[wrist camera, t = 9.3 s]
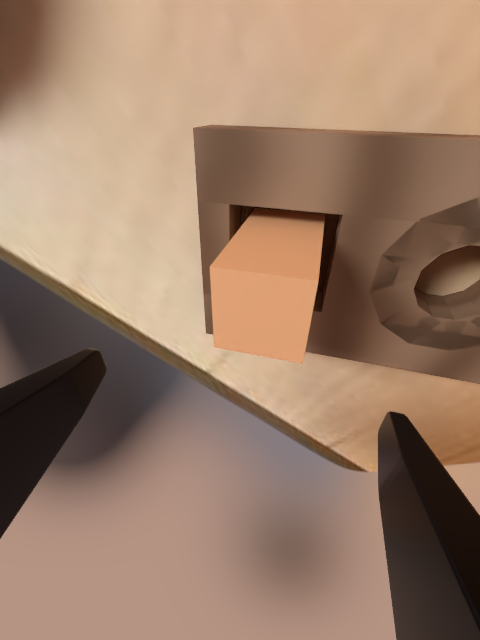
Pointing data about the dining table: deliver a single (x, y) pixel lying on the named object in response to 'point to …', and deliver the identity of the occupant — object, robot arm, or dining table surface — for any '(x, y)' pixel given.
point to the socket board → (359, 232)
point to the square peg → (268, 284)
